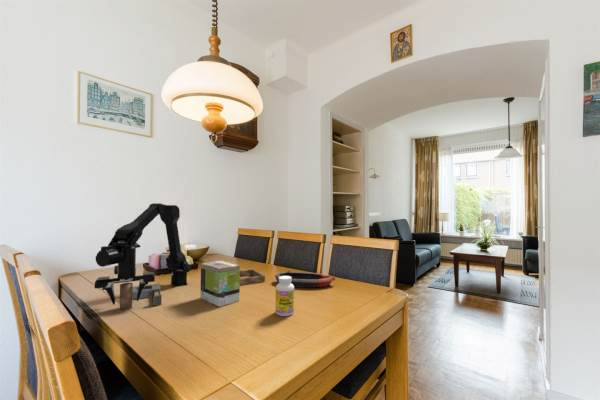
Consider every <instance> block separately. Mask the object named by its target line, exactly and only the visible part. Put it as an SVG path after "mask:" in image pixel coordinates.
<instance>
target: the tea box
mask: <svg viewBox="0 0 600 400" xmlns="http://www.w3.org/2000/svg"><path fill="white" fill-rule="evenodd" d="M240 267H241V264H236V263H232V262H229V261H225V260H216V261H210V262H203V263H201V264H200V292H199V293H200V299H202V300H204V301H206V302H208V303H210V304H212V305H215V306H216V307H223V306H226V305H229V304H230V305H231V304H234V303H236V302H240V296H241V295H240V293H241V292H240V288H241V287H240V286H241V285H240V279H241V277H240V271H241V268H240Z"/></svg>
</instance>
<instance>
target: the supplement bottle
mask: <svg viewBox="0 0 600 400" xmlns="http://www.w3.org/2000/svg"><path fill="white" fill-rule="evenodd" d="M291 281H292V277H290V276H280V277H279V282H278V283H277V284H276V286H275V314H277V316H280V317H289V316H291V315H293V314H294V311H295V287H294V285H293V284H291Z"/></svg>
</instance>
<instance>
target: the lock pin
mask: <svg viewBox="0 0 600 400" xmlns="http://www.w3.org/2000/svg"><path fill="white" fill-rule="evenodd" d="M152 298H153V299H152V304H153V306H157V305H162V298H163V297H162V294H160V295H159V290H155V291H153V297H152Z"/></svg>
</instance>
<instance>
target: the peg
mask: <svg viewBox="0 0 600 400" xmlns="http://www.w3.org/2000/svg"><path fill="white" fill-rule="evenodd" d="M133 287H134V286H133V282H122V283H119V310H120V311H128V310H131V309H132V308H133V300H132V288H133Z"/></svg>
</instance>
